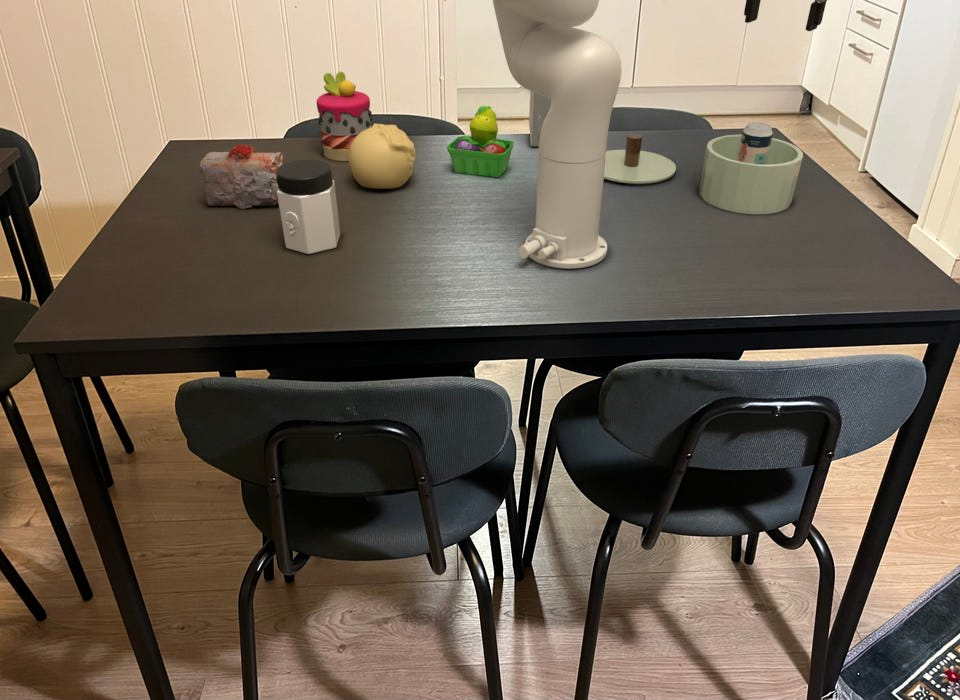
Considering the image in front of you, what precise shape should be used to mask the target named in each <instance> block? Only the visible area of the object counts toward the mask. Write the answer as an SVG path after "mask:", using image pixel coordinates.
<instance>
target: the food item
mask: <svg viewBox="0 0 960 700" xmlns="http://www.w3.org/2000/svg"><path fill="white" fill-rule="evenodd" d="M232 148H233V149H232V150H231V151H221V152H220V151H210V152H208V153H206V154H205V155H204V156H203V157H202V159H201V160H200V162H199V170H200V174H201V177H202V182H203V187H204V191H205V195H206V196H205V197H206V202H207V203H206V204H208V207H217V206H219V207H237V208H238V209H241V210H245V209H248V208H252V207H254V206H255V207H269V206H272V207H273V206H276V205H277V204H279V202H278V196H277V191H278V189H279V188H278V184H277V180H276V170H277V168H278V167H280V166H281V165H283V164H284V163H283V161H284V155H283V153H282V152H281V151H279V152H255V147H254V146H251V145H246V144H244V143H243V144H237V145H234V146H233V147H232Z"/></svg>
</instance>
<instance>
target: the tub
mask: <svg viewBox="0 0 960 700" xmlns="http://www.w3.org/2000/svg"><path fill="white" fill-rule="evenodd" d="M741 139H742V134H728V135H722V136H718V137H714V138H712V139H711V140H709V141H708V142H707V145H706V148H705V152H704V153H705V154H704V159H703V160H704V161H703V164H702V165H703V166H702V172H701V178H700V183H699V189H698V190H699V191H698V192H699V196H700V198H701V199H702V200H703V201H705V203H708V204H709V205H711V206H712V207H713V206H714V207H715V208H718V209H721V210H724V211H728V212H732V213H736V214H737V213H738V214H745V215H770V214H777V213H780V212H783V211H785V210H787V209H788V208H789V207H790V206H791V204H792V201H793V198H794V193H795V190H796V186H797V181H798V177H799V174H800V169H801V165H802V161H803V157H804V153H803V151H802V150H801V149H800V148H799V147H798V146H796V145H794V144H793V143H790V142H787V141H785V140H781V139H778V138H774V137H772V140H771V144H770V149H769V153H768V158H767V162H766V164H753V163H745V162H740V161H737V159H738V154H739V149H740V144H741Z"/></svg>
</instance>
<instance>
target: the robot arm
mask: <svg viewBox="0 0 960 700" xmlns="http://www.w3.org/2000/svg"><path fill="white" fill-rule="evenodd" d="M827 1H828V0H814V1H813V2H811V4H810V7H809V10H808V11H809V12H808V16H807V20H806V25H805V30H806V32H812V31H814V30H816V29H818V26H820V25H821V24H822V22H823V17H824V13H825V10H826V5H827ZM599 2H600V0H492V5H493V9H494V13H495V18H496V23H497V27H498V31H499V34H500V39H501V40H500V41H501V44H502V48H503V52H504V56H505V61H506V64H507V68H508V70H509V73H510V75H511V76H512V78H513V79H514V81H515V82H516V83H517V84H518V85H519V86H520V87H522V88H524V89H526V90H527V91H532V92H534V93H537V94H539V95H542V96H544V97H546V98H548V99H550V100H551V107H550V109H549V112H548V114H547V116H546V118H545V120H544V122H543V125H542V127H541V131H540V138H539V146H538V160H537V161H538V162H537V163H538V164H537V183H536V185H537V186H536V207H535V209H536V210H535V227H534V228H533V229H532V232H531V233H530V234H529V235H528V236H527V237H526V239H525V240H524V243H523V244H522V245H520V246H519V247H518V248H517V253H518V256H519V257H520V258H521V259H527V258H529V259H531V260H532V261H534V262H535V263H538V264H540V265H543V266H546V267H550V268H553V269H554V268H555V269H561V270H562V269H565V270H573V269H583V268H588V267H592V266H595V265H596V264H599V263H600V262H602V261H603V260H604V259H605V258H606V256H607V254H608V243H607V241H606V240H605V239H604V237H602V236H601V235H600V234H599V231H600V221H601V212H602V211H601V210H602V201H603V190H604V180H605V179H604V170H605V160H606V151H607V148H608V147H607V146H608V139H609V138H608V137H609V129H610V122H611V116H612V111H613V109H614V105H615V101H616V97H617V94H618V91H619V88H620V84H621V80H622V72H623V71H622V69H623V68H622V60H621V57H620V55H619V52H618V50H617V49H616V48H615V47H614V45H613V44H612V43H611V42H610V41H609V40H607V39H606V38H604V37H603V36H601V35H599V34H596V33H594V32H590V31H588V30H584V29H580V28H577V27H579V26H581V25H583V24H585V23H587V22H588V21H589V20H591V19H592V17H593V16H594V15H595V13H596V11H597V9H598V7H599ZM760 5H761V0H745V5H744V11H743V16H745V17H744V23H747V24H750V23H752V22H755V21H757V19H758V17H759V11H760Z"/></svg>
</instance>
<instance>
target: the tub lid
mask: <svg viewBox="0 0 960 700" xmlns="http://www.w3.org/2000/svg"><path fill="white" fill-rule="evenodd" d="M642 141H643V135H641V134H639V133H628V134H627V135H626V141H625V149H612V150H611V149H610V150H606V160H605V170H604V180H608V181H612V182H617V183H624V184H637V185H638V184H639V185H640V184H653V183H658V182H659V183H660V182H663V181H666V180H668V179H670V178H672V177H673V176H675V174H676V172H677V166H676V164H675V162H674V161H672V160H671V159H670V158H667V156H664V155H661V154H658V153H656V152H650V151H645V150H642V143H643V142H642Z"/></svg>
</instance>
